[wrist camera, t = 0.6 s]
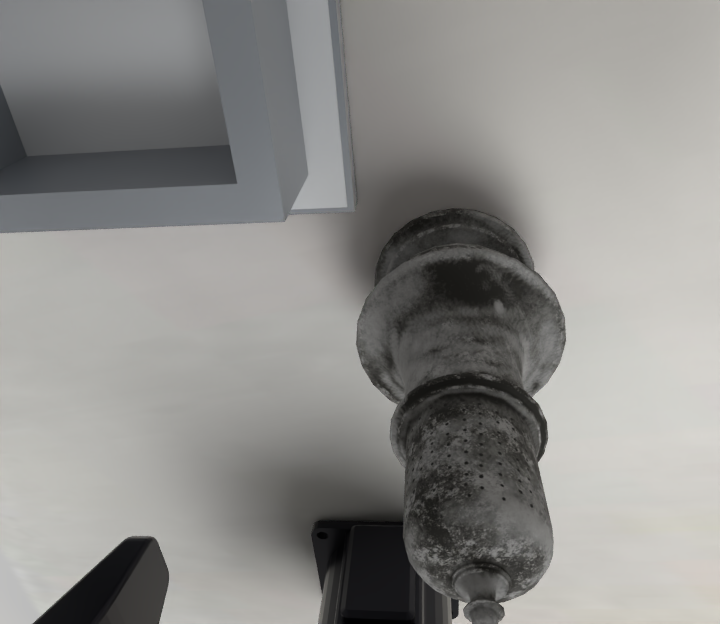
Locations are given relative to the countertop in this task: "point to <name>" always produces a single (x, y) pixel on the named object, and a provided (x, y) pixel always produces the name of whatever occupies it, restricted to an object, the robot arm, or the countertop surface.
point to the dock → (171, 113)
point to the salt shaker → (466, 401)
